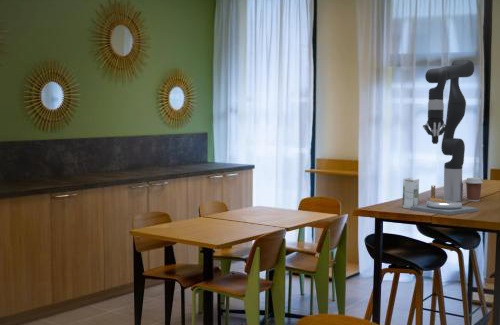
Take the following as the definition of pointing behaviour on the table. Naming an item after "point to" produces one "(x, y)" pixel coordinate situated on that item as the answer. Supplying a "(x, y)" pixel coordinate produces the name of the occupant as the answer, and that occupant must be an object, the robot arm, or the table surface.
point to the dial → (442, 202)
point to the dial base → (444, 210)
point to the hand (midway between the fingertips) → (434, 143)
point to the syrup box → (410, 192)
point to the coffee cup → (473, 188)
